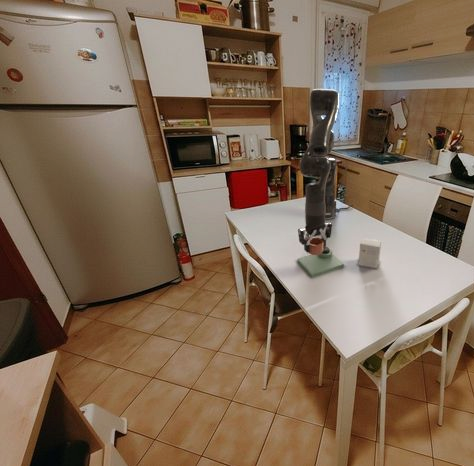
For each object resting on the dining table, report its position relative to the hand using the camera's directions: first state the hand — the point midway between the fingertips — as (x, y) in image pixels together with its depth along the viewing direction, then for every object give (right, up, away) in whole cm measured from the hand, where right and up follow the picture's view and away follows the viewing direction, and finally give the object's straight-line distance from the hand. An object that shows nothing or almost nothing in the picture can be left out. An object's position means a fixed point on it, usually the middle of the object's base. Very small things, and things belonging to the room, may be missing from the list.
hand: (315, 249), depth 105 cm
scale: (+2, -6, +6) cm, 9 cm away
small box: (+23, -7, +7) cm, 24 cm away
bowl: (0, -1, 0) cm, 1 cm away
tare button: (+4, -2, +10) cm, 11 cm away
